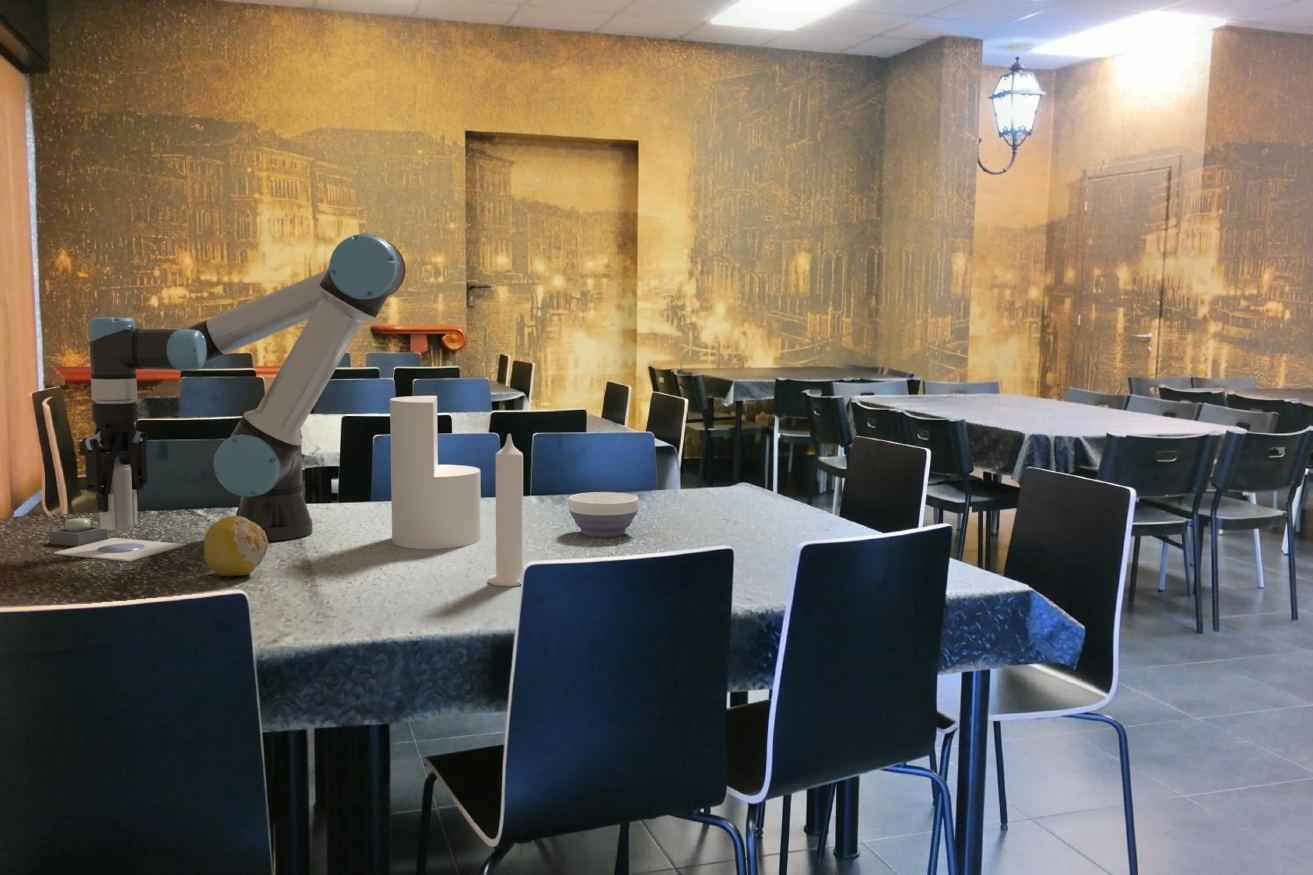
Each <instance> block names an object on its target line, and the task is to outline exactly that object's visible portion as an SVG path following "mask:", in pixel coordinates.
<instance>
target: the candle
mask: <svg viewBox="0 0 1313 875" xmlns="http://www.w3.org/2000/svg"><path fill="white" fill-rule="evenodd" d="M522 570H523V571H524V454H523V452H522V451H520V450H519V449H518V448H517V447H515V445H514V443H513V439H512V434H511V433H508V434H507V435H506V440H505V444H504V446H503V447H502V448H501V449H500V450H499V451H497V452H495V573H493V574H491V575H489V576H488V580H487V582H488V584H490V585H493V586H496V587H519V586H521V585H520V577H521V573H522Z"/></svg>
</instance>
